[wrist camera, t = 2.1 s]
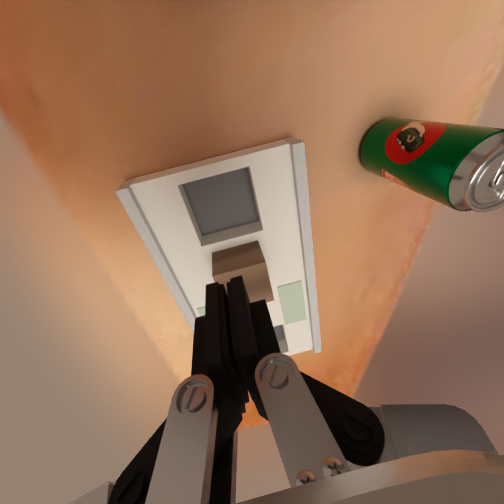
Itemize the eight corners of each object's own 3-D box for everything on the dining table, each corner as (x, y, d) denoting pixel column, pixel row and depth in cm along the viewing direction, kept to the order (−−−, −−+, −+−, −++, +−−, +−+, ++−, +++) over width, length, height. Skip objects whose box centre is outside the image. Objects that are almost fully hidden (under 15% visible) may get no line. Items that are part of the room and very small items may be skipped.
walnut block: (211, 252, 25) (212, 276, 22) (258, 240, 25) (265, 261, 22) (224, 287, 28) (227, 313, 24) (266, 276, 28) (274, 300, 24)
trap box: (126, 179, 22) (115, 191, 19) (292, 136, 22) (304, 141, 20) (218, 359, 39) (219, 379, 36) (313, 333, 39) (321, 351, 36)
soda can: (352, 172, 25) (446, 219, 15) (365, 117, 23) (490, 131, 13) (395, 171, 26) (513, 215, 16) (413, 117, 23) (568, 131, 13)
